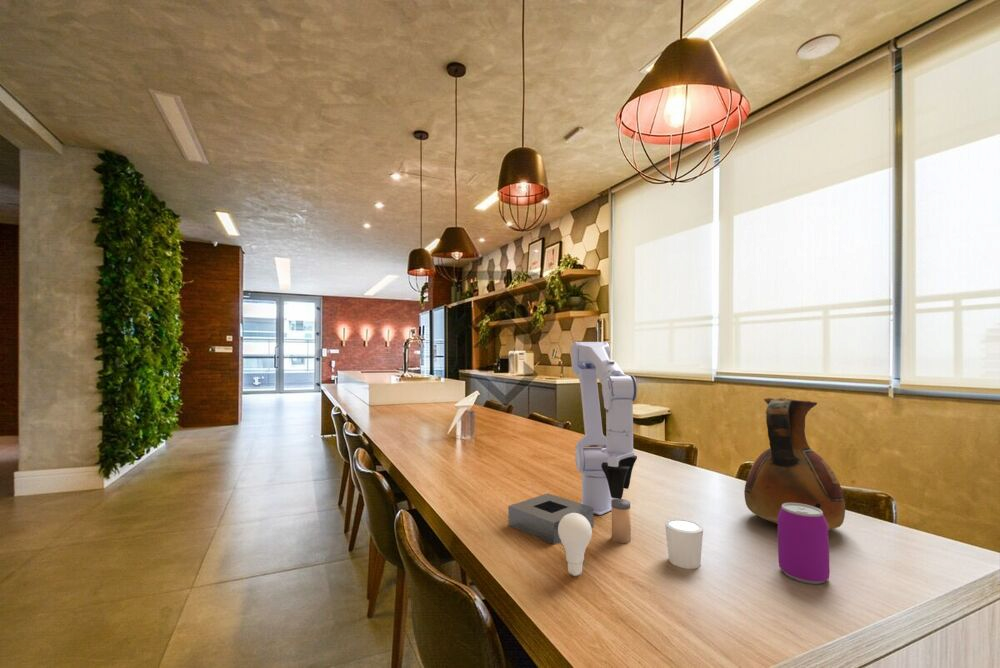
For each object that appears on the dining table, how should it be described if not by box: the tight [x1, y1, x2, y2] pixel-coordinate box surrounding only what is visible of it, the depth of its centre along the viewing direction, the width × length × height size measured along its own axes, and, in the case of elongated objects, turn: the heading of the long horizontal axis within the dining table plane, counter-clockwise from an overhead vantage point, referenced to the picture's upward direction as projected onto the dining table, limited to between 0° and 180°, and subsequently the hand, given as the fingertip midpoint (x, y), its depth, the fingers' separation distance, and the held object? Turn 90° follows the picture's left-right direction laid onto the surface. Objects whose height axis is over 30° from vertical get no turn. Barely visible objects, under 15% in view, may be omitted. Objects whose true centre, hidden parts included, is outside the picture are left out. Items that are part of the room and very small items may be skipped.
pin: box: [610, 498, 632, 544], centre depth 95 cm, size 4×4×8 cm
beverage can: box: [777, 503, 831, 585], centre depth 80 cm, size 8×8×12 cm
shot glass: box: [664, 518, 704, 570], centre depth 85 cm, size 7×7×7 cm
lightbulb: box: [558, 513, 593, 577], centre depth 80 cm, size 6×6×11 cm
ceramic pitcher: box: [743, 397, 846, 531], centre depth 104 cm, size 20×20×30 cm
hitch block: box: [507, 493, 594, 545], centre depth 102 cm, size 14×14×4 cm
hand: (620, 492), depth 96 cm, fingers open, 7 cm apart
